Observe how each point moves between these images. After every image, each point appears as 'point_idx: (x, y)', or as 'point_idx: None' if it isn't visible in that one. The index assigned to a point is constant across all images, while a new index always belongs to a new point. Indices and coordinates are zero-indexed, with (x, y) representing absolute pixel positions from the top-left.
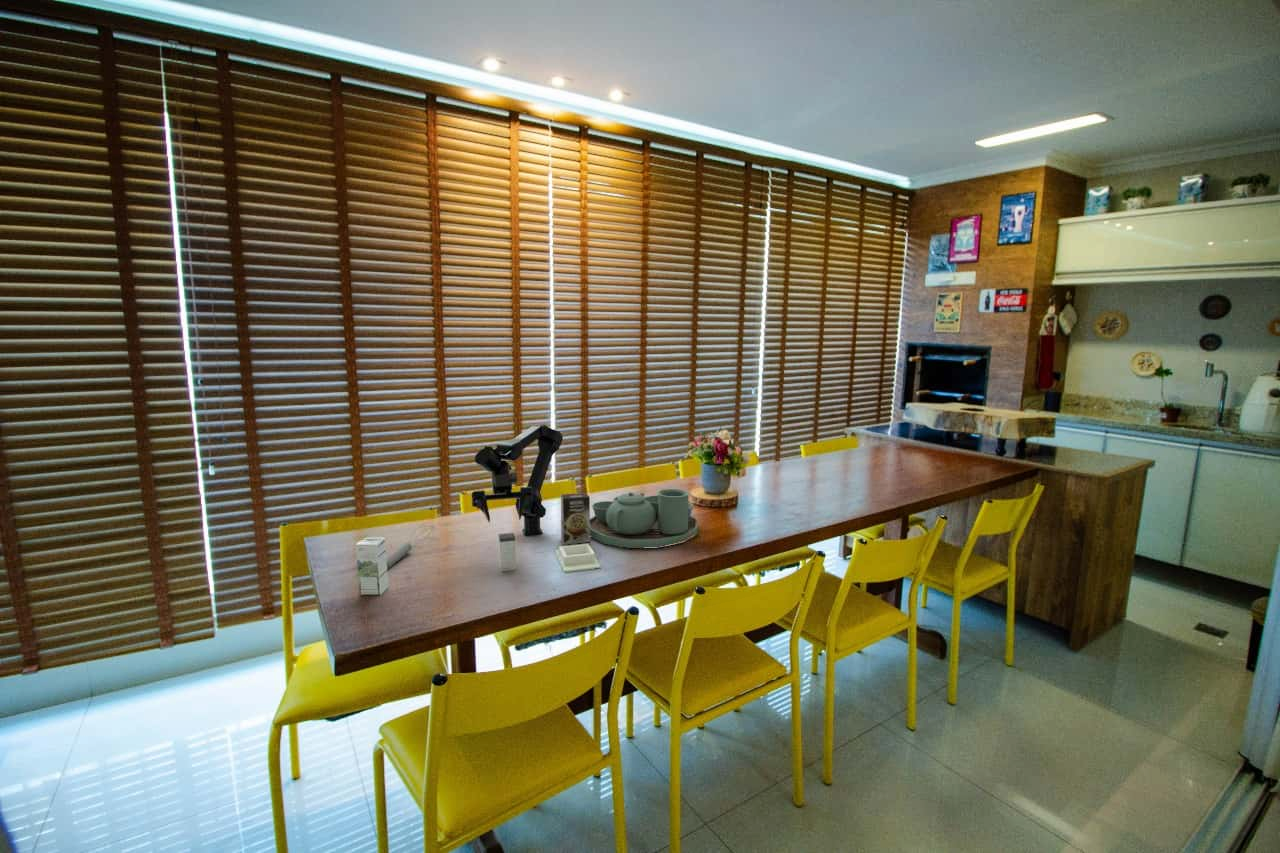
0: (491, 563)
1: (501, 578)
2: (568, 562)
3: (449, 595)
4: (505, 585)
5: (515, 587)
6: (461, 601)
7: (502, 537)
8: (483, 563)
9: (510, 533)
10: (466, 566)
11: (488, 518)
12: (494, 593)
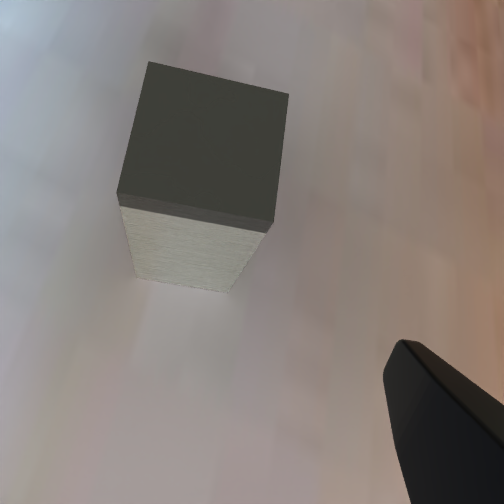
0: (265, 356)
1: None
2: None
3: (474, 77)
4: (253, 48)
5: (217, 10)
6: (431, 10)
7: (257, 113)
8: (310, 379)
9: (156, 182)
10: None
11: (433, 356)
12: (310, 6)
